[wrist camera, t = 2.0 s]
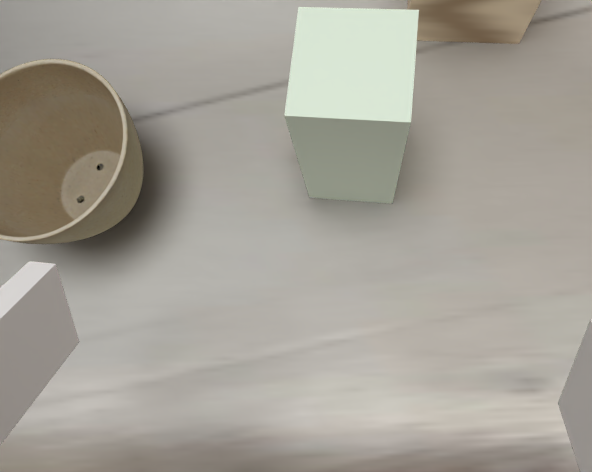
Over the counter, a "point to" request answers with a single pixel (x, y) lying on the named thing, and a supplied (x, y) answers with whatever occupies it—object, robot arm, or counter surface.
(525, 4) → the tower base
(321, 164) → the sage block
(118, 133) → the flower pot
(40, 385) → the robot arm
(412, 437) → the counter surface
